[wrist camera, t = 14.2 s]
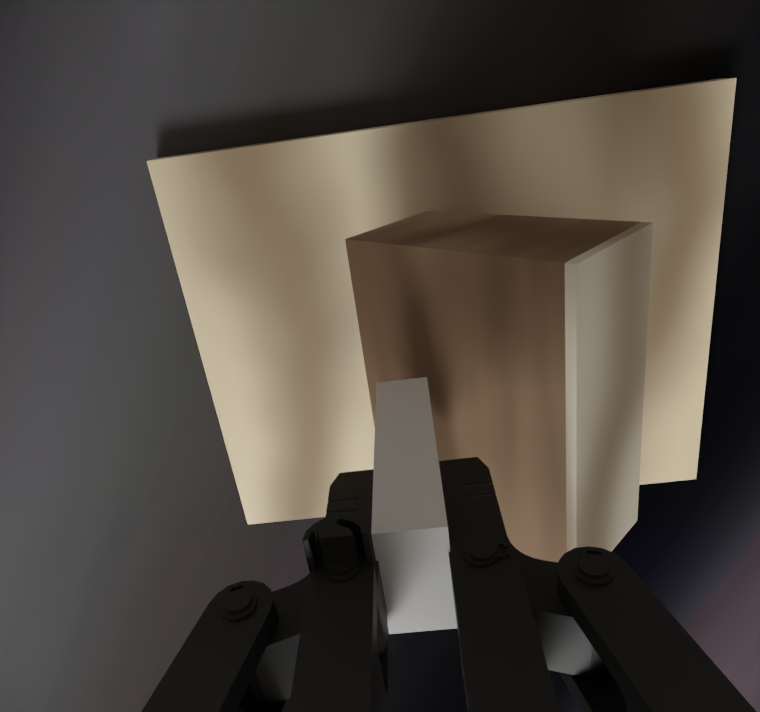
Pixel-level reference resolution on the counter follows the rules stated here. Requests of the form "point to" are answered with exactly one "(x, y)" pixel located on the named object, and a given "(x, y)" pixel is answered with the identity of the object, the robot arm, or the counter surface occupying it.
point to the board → (408, 198)
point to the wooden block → (520, 357)
